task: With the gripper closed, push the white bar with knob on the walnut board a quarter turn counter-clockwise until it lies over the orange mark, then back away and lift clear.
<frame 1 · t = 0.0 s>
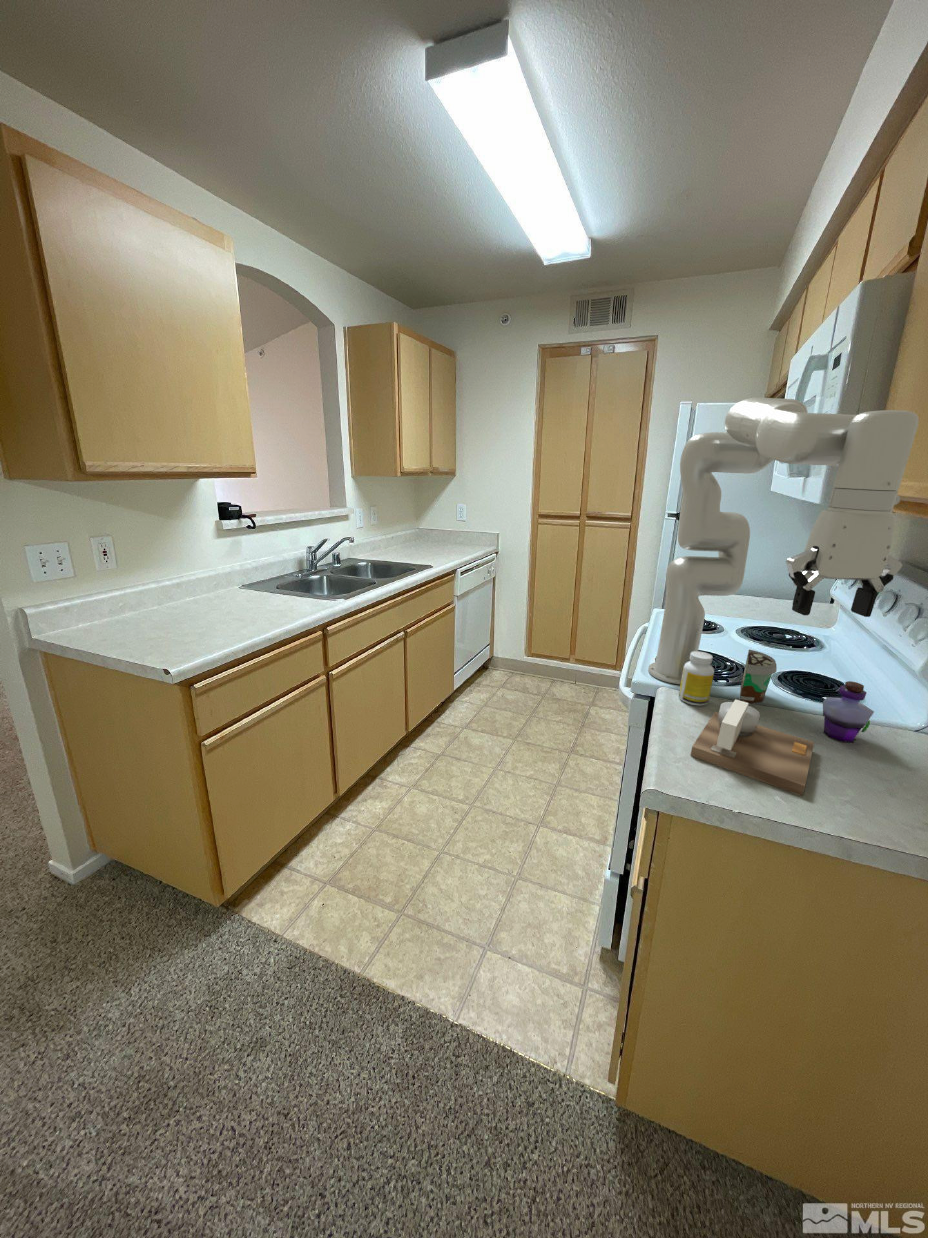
hand: (830, 613, 77), 31 cm above the table, tool pointing down, fingers open, 9 cm apart
potion bottle: (838, 736, 102), on the table
food container: (753, 698, 118), on the table
post base: (751, 753, 95), on the table
white bar with knob: (735, 720, 95), point 6 cm above the table, hinge at 0.0°
pill bottle: (692, 701, 115), on the table
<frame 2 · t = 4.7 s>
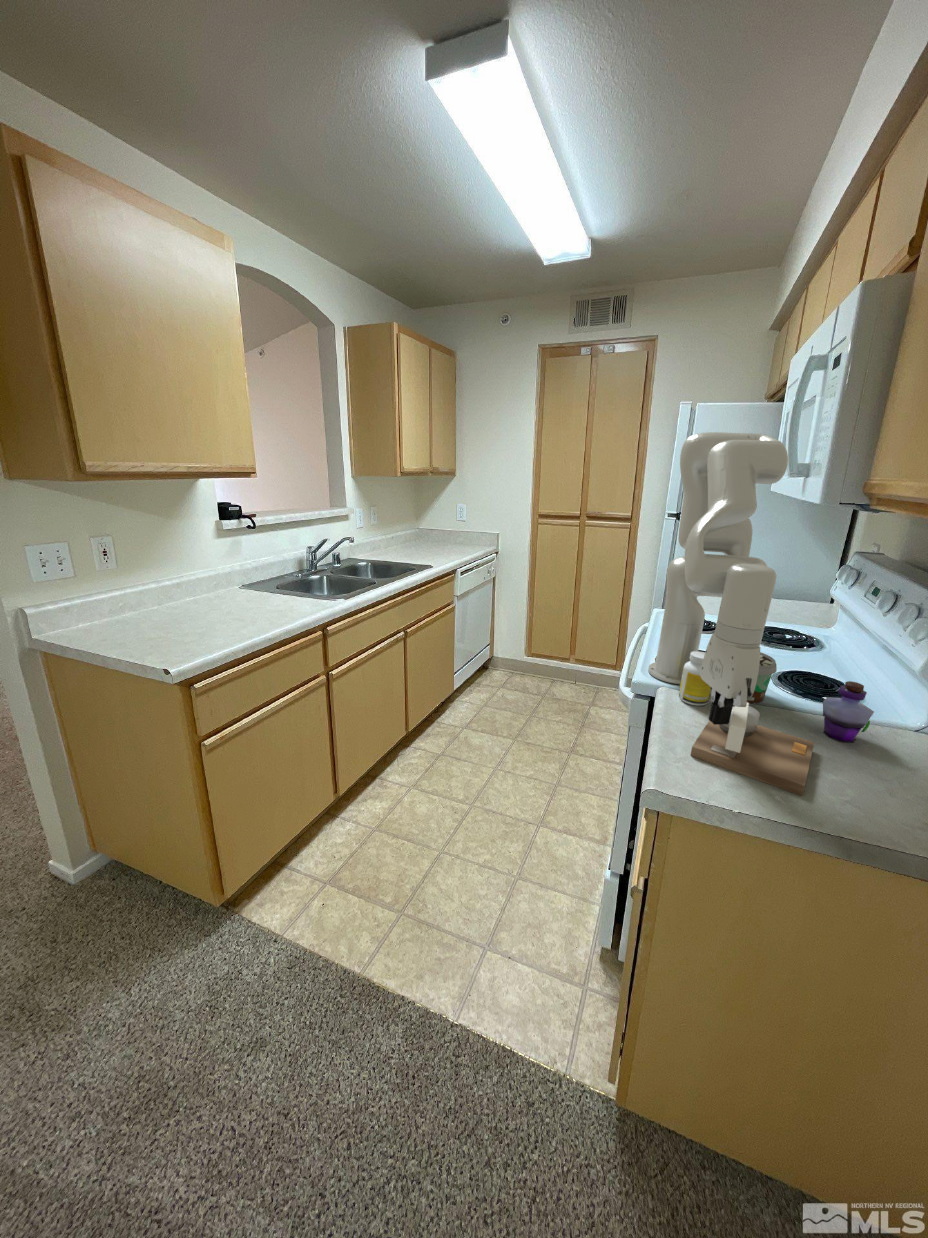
hand: (718, 722, 94), 6 cm above the table, tool pointing down, fingers closed
white bar with knob: (738, 721, 95), point 6 cm above the table, hinge at 7.1°, touching gripper
everything else where it was.
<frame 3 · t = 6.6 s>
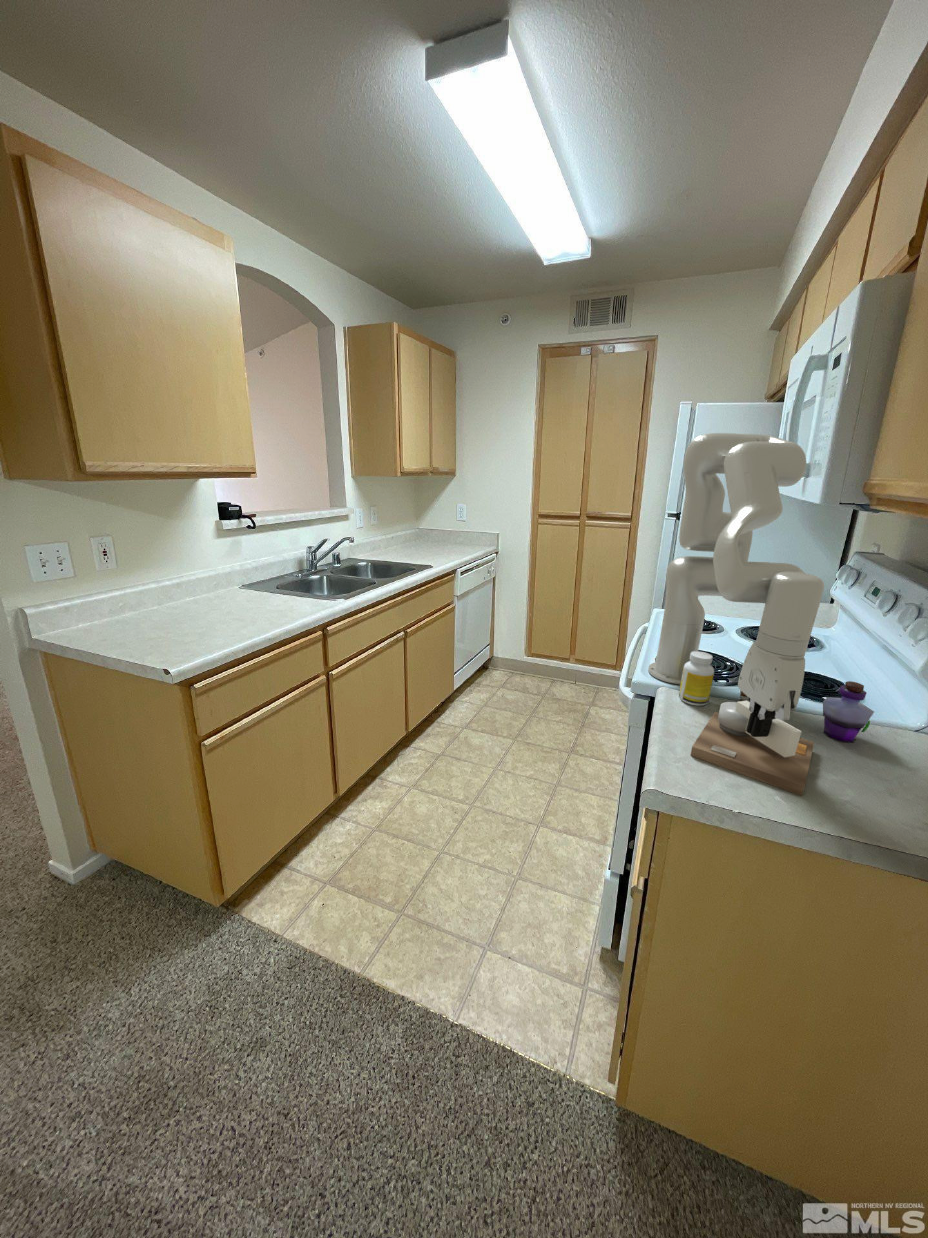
hand: (756, 734, 91), 5 cm above the table, tool pointing down, fingers closed
white bar with knob: (756, 722, 94), point 6 cm above the table, hinge at 55.5°, touching gripper
everything else where it was.
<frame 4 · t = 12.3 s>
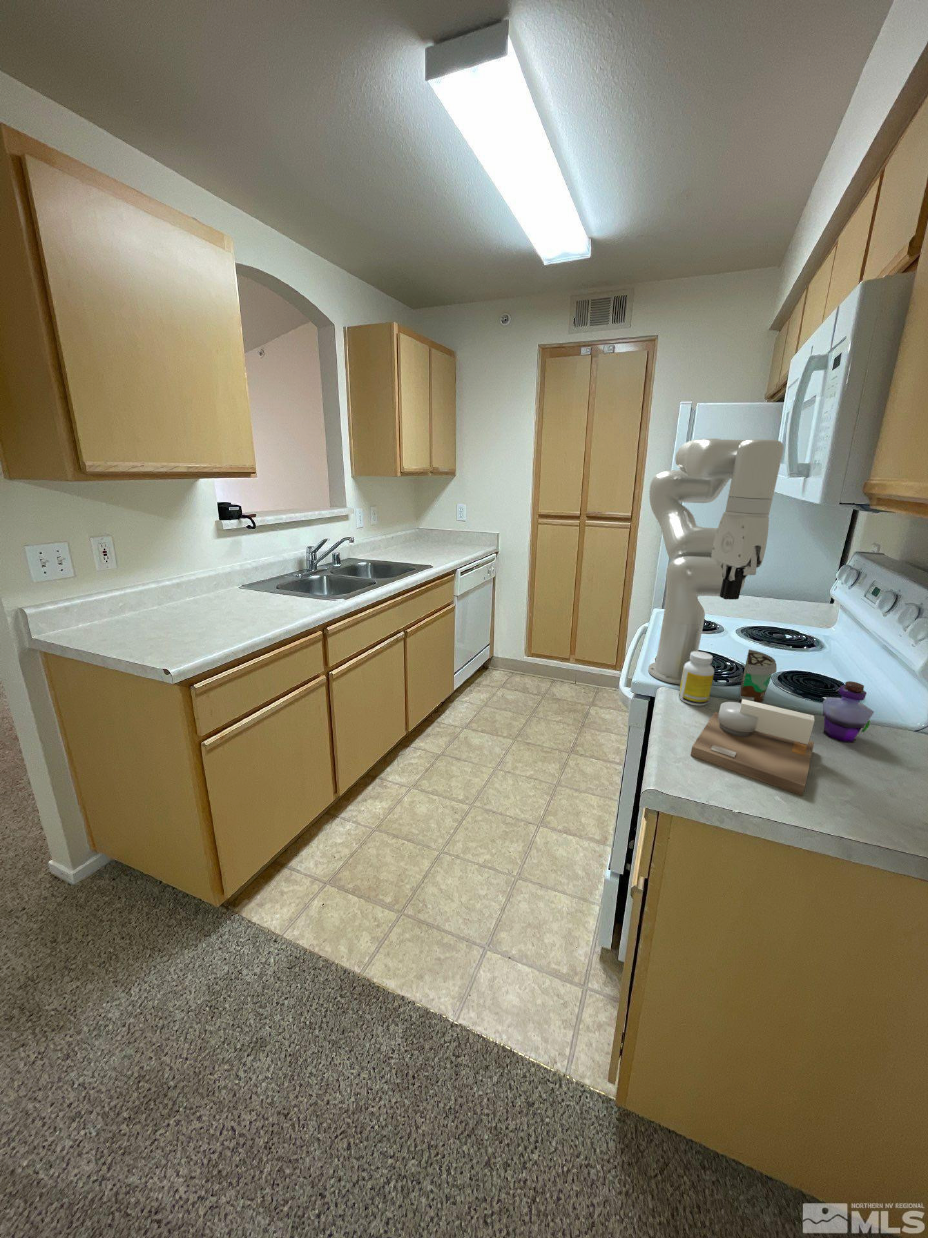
hand: (728, 598, 100), 27 cm above the table, tool pointing down, fingers closed
white bar with knob: (763, 718, 96), point 6 cm above the table, hinge at 97.5°
everything else where it was.
at the end: white bar with knob at +98° (first picture: +0°); the gripper is holding nothing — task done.
